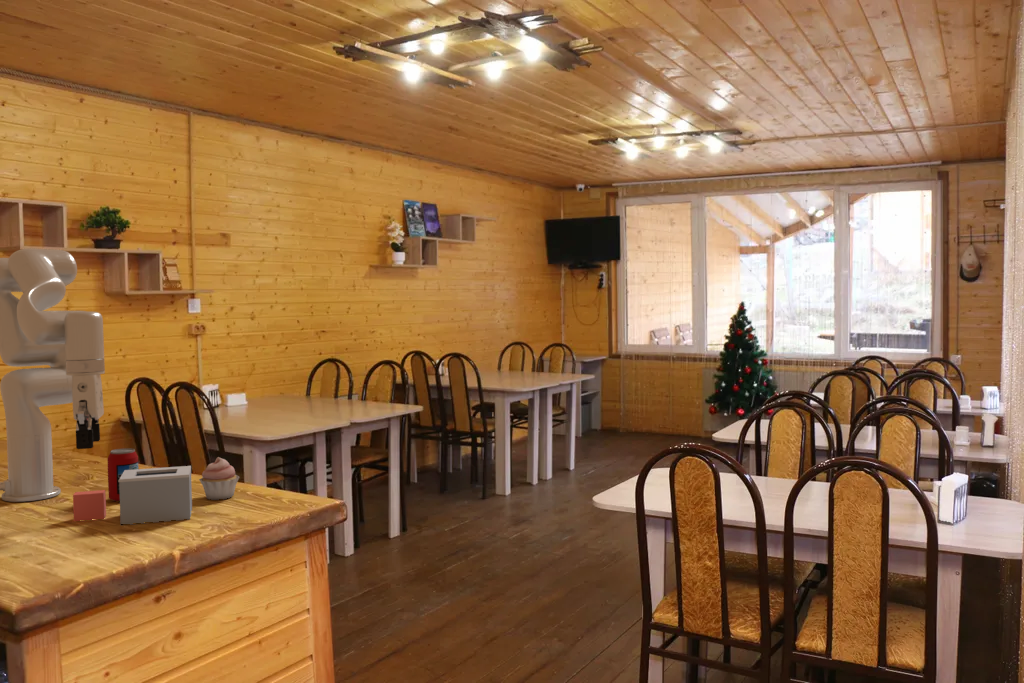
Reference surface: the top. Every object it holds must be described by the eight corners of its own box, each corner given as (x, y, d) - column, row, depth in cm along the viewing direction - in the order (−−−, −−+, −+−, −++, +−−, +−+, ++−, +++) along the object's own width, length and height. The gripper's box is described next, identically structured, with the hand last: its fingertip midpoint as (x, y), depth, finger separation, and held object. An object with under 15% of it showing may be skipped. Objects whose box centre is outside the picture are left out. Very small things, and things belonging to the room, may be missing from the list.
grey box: (120, 525, 176) (119, 479, 175) (125, 513, 185) (124, 470, 185) (190, 519, 180) (189, 474, 180) (192, 508, 190) (190, 465, 189)
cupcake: (192, 497, 200) (191, 457, 200) (228, 490, 207) (227, 451, 206) (210, 504, 194) (209, 462, 193) (246, 496, 201) (246, 456, 200)
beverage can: (127, 503, 195) (125, 453, 194) (102, 501, 196) (100, 452, 195) (145, 496, 201) (143, 448, 201) (121, 495, 203) (119, 447, 202)
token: (73, 522, 179) (73, 495, 178) (76, 518, 182) (75, 492, 181) (104, 519, 181) (103, 492, 180) (106, 516, 184) (105, 489, 183)
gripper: (98, 369, 172) (101, 450, 173) (109, 364, 189) (112, 438, 189) (58, 371, 170) (62, 452, 171) (73, 365, 186) (76, 440, 187)
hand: (88, 444), depth 180 cm, fingers open, 9 cm apart
